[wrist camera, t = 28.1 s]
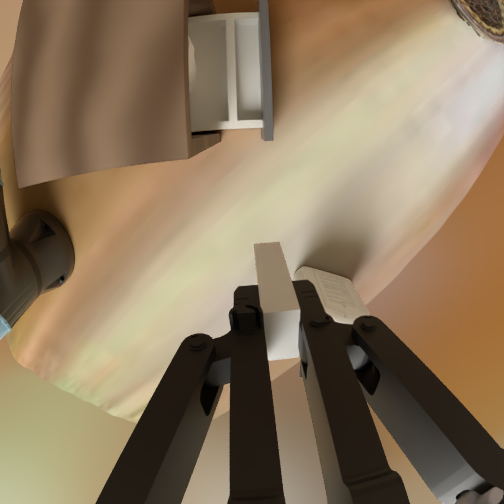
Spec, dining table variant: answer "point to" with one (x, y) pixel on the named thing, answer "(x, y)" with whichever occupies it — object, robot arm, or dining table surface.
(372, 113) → the dining table surface
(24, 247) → the robot arm
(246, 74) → the tray
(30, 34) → the cabinet
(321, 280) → the photo printer
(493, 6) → the pie
